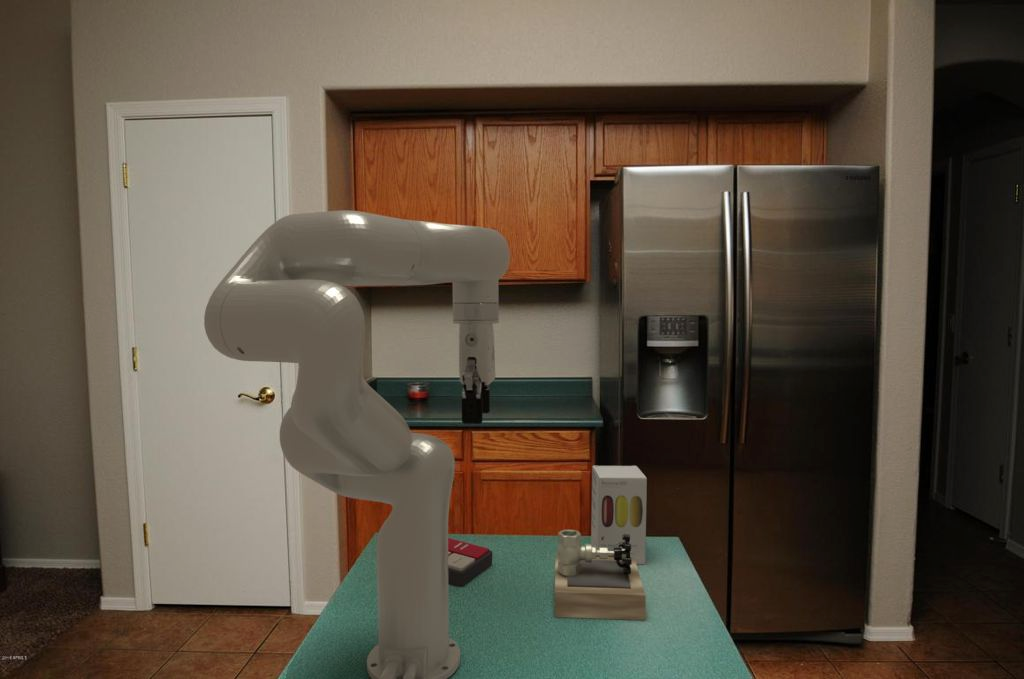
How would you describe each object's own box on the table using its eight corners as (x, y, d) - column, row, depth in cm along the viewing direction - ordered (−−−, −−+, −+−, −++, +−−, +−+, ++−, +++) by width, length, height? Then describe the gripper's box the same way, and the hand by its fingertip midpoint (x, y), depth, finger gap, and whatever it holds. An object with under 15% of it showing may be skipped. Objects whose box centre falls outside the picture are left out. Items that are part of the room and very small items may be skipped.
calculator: (462, 569, 106) (393, 549, 113) (461, 593, 106) (393, 571, 113) (493, 547, 116) (428, 530, 123) (492, 569, 116) (427, 551, 123)
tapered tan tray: (645, 620, 95) (645, 593, 95) (554, 617, 96) (554, 590, 96) (634, 580, 109) (634, 556, 109) (555, 577, 110) (555, 554, 110)
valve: (556, 579, 99) (631, 582, 98) (556, 540, 99) (631, 542, 98) (557, 563, 106) (627, 565, 105) (557, 525, 106) (627, 527, 105)
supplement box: (596, 565, 115) (596, 477, 114) (589, 546, 125) (589, 464, 124) (647, 565, 115) (648, 476, 115) (636, 546, 125) (637, 464, 124)
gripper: (492, 315, 92) (493, 428, 93) (503, 314, 109) (503, 409, 110) (443, 315, 92) (444, 427, 93) (461, 314, 110) (462, 409, 110)
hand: (476, 417), depth 102 cm, fingers open, 9 cm apart
